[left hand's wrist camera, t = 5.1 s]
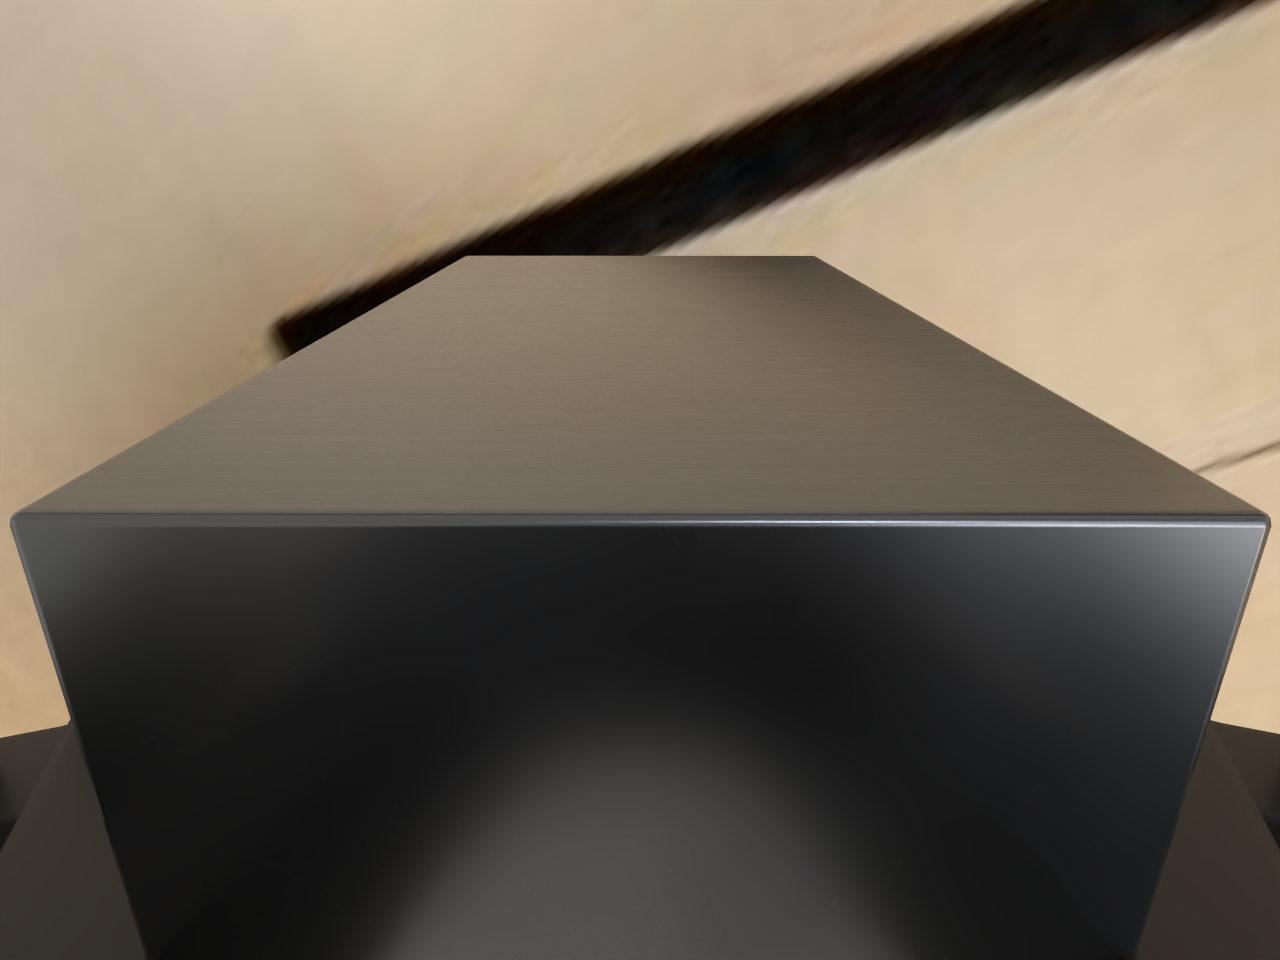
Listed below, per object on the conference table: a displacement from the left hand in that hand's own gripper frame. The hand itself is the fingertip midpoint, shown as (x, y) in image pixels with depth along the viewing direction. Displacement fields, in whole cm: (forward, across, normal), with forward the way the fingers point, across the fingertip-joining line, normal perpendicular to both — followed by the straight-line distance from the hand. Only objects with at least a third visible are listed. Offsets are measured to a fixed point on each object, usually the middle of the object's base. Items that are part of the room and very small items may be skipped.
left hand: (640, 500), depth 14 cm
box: (+1, 0, -8) cm, 9 cm away
